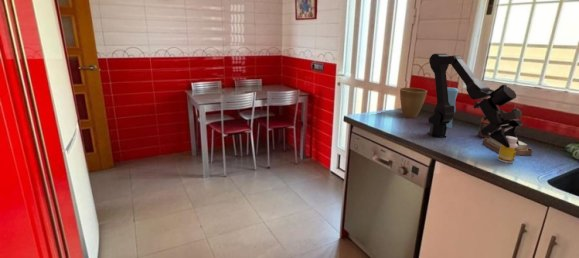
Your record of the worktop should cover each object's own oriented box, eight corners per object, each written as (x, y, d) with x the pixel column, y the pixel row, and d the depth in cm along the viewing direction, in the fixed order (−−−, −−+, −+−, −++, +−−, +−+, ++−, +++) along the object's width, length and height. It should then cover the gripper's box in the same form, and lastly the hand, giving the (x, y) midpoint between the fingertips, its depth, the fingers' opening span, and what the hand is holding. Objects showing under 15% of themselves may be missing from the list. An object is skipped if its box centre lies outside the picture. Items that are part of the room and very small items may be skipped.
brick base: (500, 154, 133) (503, 145, 132) (482, 143, 145) (484, 135, 144) (531, 155, 133) (533, 146, 132) (510, 144, 146) (512, 136, 144)
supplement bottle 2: (513, 164, 123) (520, 140, 120) (497, 161, 126) (503, 138, 123) (513, 160, 127) (519, 137, 124) (497, 156, 130) (503, 134, 127)
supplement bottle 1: (493, 139, 152) (499, 116, 149) (480, 137, 153) (485, 115, 150) (489, 135, 158) (494, 113, 154) (476, 134, 159) (480, 112, 155)
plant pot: (426, 116, 189) (430, 89, 185) (418, 121, 178) (422, 93, 173) (401, 111, 198) (405, 86, 193) (392, 116, 187) (396, 89, 182)
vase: (434, 122, 177) (440, 86, 171) (449, 123, 175) (456, 88, 169) (436, 126, 170) (442, 89, 164) (452, 127, 168) (459, 90, 161)
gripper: (494, 103, 119) (518, 140, 113) (523, 99, 127) (547, 134, 121) (470, 118, 128) (491, 152, 122) (499, 113, 136) (519, 146, 130)
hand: (513, 146), depth 123 cm, fingers closed on supplement bottle 2, 5 cm apart
